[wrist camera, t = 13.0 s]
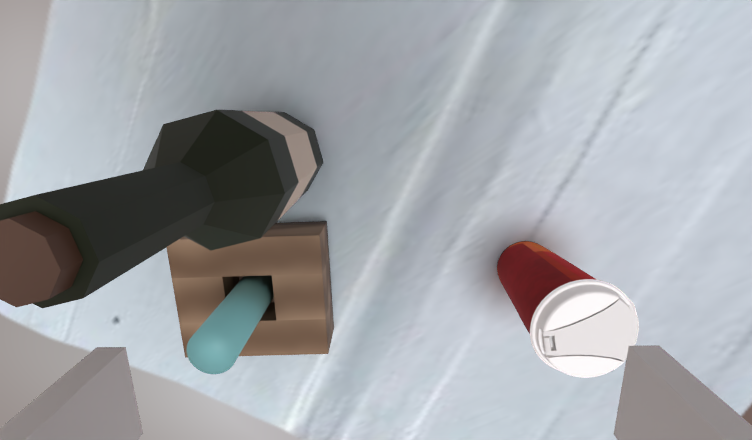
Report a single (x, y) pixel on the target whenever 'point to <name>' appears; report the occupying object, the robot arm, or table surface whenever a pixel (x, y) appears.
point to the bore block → (289, 277)
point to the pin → (230, 325)
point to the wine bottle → (158, 204)
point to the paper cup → (568, 311)
